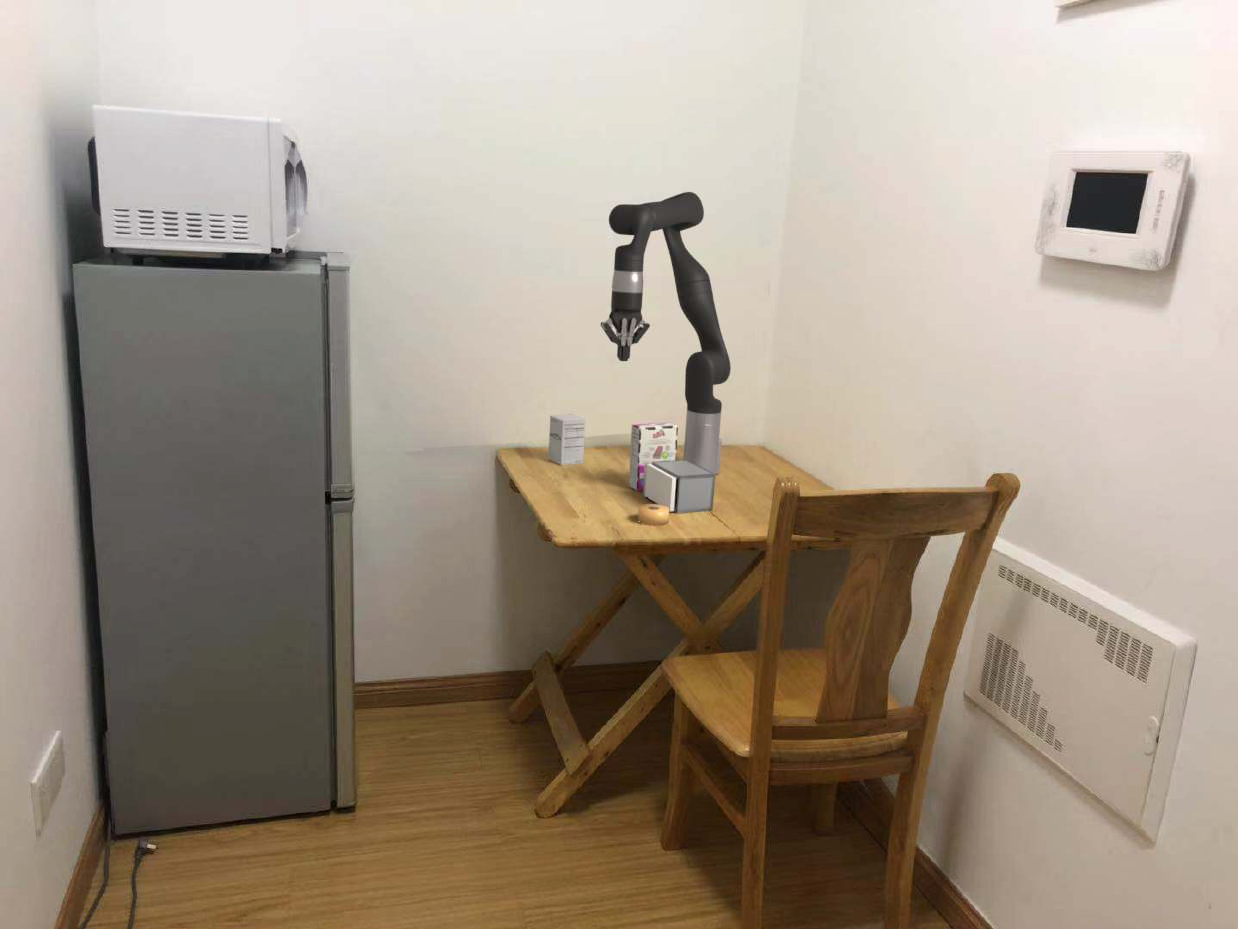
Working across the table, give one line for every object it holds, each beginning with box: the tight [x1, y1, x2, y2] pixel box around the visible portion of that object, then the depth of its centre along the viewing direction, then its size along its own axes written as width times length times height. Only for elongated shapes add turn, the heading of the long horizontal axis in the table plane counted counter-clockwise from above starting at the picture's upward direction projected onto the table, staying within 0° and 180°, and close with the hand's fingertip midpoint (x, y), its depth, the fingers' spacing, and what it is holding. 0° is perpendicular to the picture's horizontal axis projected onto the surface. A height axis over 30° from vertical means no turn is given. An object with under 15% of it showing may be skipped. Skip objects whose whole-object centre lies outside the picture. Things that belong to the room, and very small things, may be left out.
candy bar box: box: [628, 421, 679, 492], centre depth 252 cm, size 11×5×16 cm, turn 118°
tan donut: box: [637, 503, 670, 527], centre depth 226 cm, size 7×7×3 cm
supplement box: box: [547, 413, 586, 466], centre depth 273 cm, size 7×7×13 cm
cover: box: [642, 463, 676, 512], centre depth 238 cm, size 15×1×8 cm, turn 25°
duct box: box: [652, 459, 717, 514], centre depth 240 cm, size 10×14×9 cm
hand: (623, 360), depth 246 cm, fingers closed
